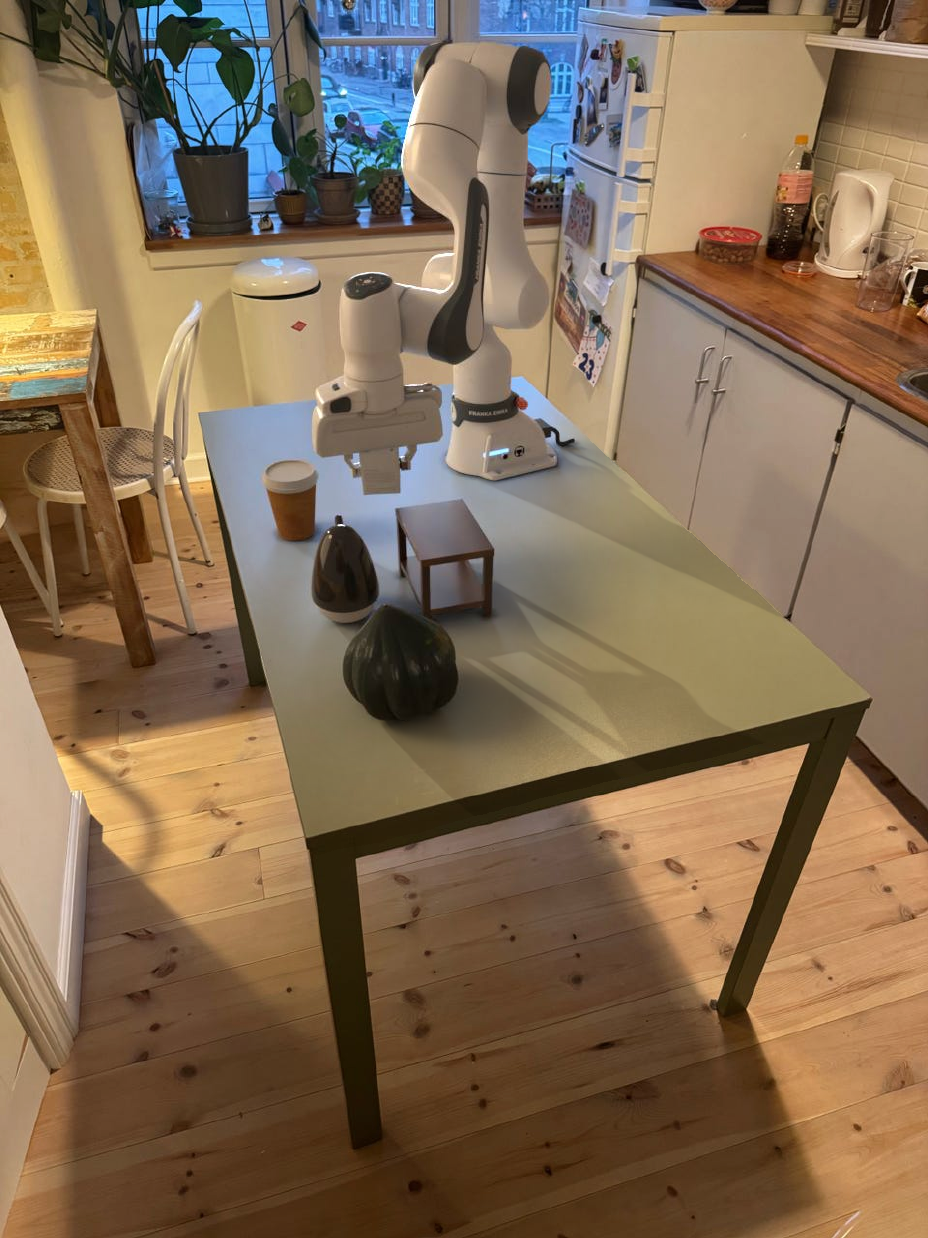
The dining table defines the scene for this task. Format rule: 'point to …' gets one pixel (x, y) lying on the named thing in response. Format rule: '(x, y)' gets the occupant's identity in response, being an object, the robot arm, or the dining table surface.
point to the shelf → (444, 557)
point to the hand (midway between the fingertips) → (380, 472)
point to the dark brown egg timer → (344, 575)
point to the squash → (400, 664)
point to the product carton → (380, 471)
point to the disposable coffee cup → (292, 497)
